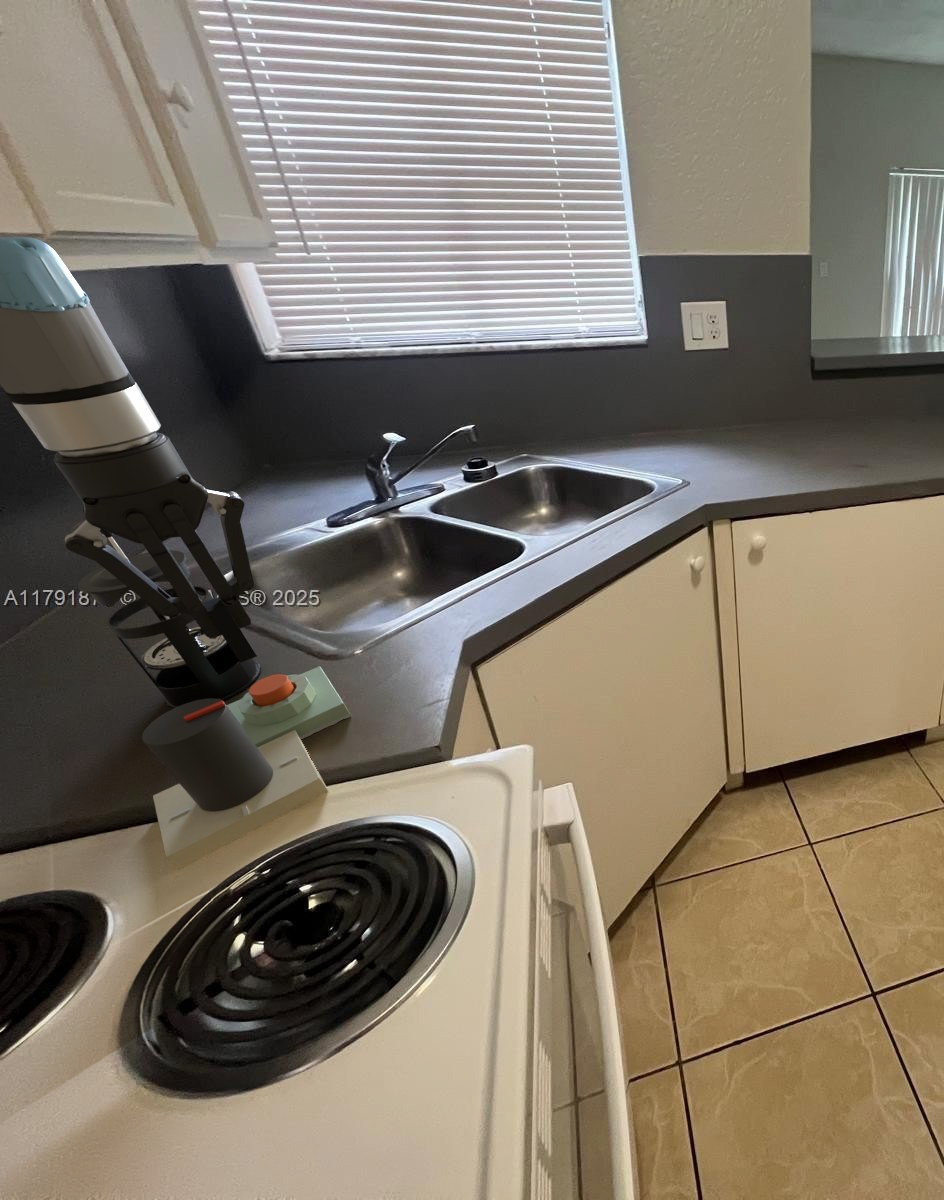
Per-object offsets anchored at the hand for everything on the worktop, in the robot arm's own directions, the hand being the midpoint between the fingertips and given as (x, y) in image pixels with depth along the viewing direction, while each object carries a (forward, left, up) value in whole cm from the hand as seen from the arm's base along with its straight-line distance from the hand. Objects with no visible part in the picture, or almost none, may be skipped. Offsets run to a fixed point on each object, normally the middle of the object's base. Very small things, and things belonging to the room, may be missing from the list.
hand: (246, 654), depth 68 cm
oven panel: (+11, -6, -10) cm, 16 cm away
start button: (0, 0, -6) cm, 6 cm away
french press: (-15, -5, -10) cm, 18 cm away
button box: (0, 0, -10) cm, 10 cm away
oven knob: (+11, -6, -8) cm, 14 cm away
